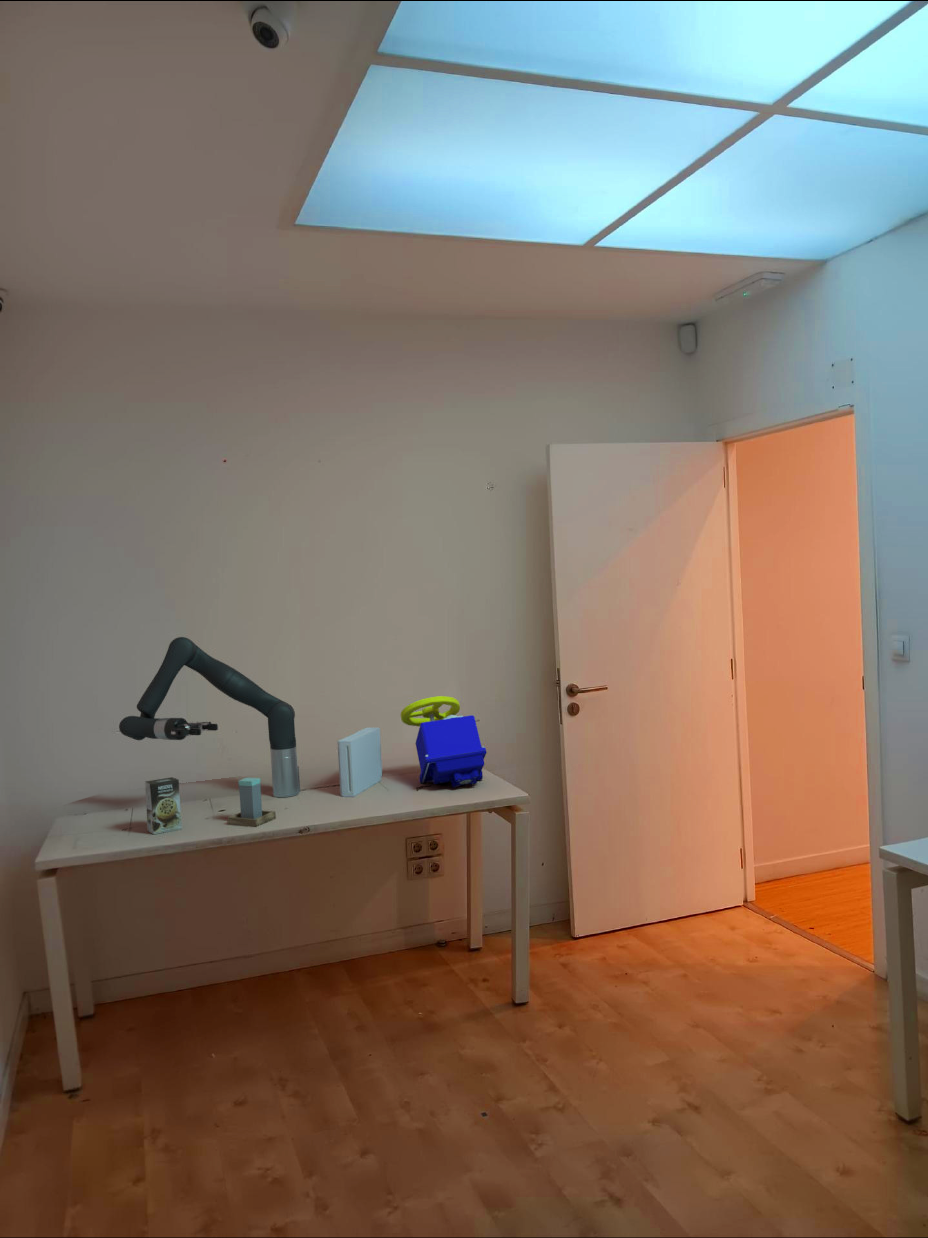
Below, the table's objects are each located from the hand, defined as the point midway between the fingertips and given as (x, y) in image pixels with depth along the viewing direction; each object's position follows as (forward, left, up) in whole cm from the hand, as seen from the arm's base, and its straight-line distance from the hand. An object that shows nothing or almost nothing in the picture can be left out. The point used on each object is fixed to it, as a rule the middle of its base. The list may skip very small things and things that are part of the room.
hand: (208, 729), depth 314 cm
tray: (+4, +19, -29) cm, 35 cm away
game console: (-46, +30, -29) cm, 62 cm away
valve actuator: (-59, +58, -29) cm, 87 cm away
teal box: (+4, +19, -28) cm, 34 cm away
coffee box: (+20, -3, -29) cm, 35 cm away
